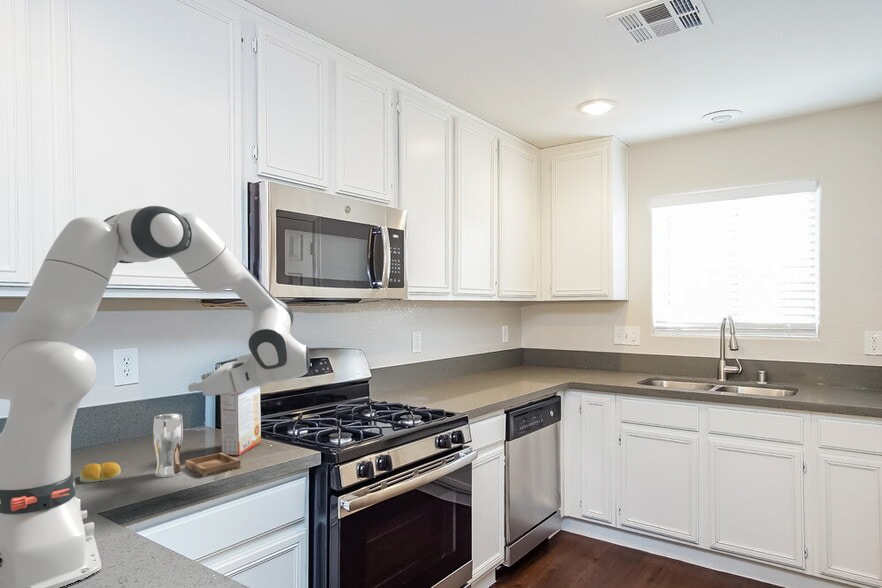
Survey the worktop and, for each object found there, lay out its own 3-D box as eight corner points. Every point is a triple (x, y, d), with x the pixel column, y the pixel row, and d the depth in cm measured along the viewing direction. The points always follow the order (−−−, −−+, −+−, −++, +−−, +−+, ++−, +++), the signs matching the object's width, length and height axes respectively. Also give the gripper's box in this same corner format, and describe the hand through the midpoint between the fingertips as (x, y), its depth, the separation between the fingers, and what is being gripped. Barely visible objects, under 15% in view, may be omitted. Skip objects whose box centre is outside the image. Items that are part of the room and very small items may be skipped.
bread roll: (120, 479, 142) (120, 464, 142) (79, 486, 138) (78, 469, 138) (120, 470, 149) (120, 455, 149) (80, 476, 145) (80, 460, 145)
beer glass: (187, 469, 150) (187, 413, 150) (176, 478, 143) (175, 419, 143) (161, 469, 149) (160, 413, 149) (148, 478, 142) (148, 419, 142)
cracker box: (243, 442, 176) (243, 375, 176) (261, 443, 175) (261, 376, 175) (219, 455, 162) (219, 383, 162) (239, 456, 161) (238, 383, 161)
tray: (240, 467, 151) (240, 460, 151) (203, 477, 143) (203, 469, 143) (221, 459, 158) (221, 452, 158) (185, 467, 151) (185, 460, 151)
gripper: (256, 351, 156) (206, 361, 156) (234, 369, 136) (177, 382, 135) (261, 372, 157) (212, 383, 156) (241, 394, 137) (184, 406, 136)
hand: (196, 382), depth 146 cm, fingers open, 8 cm apart
